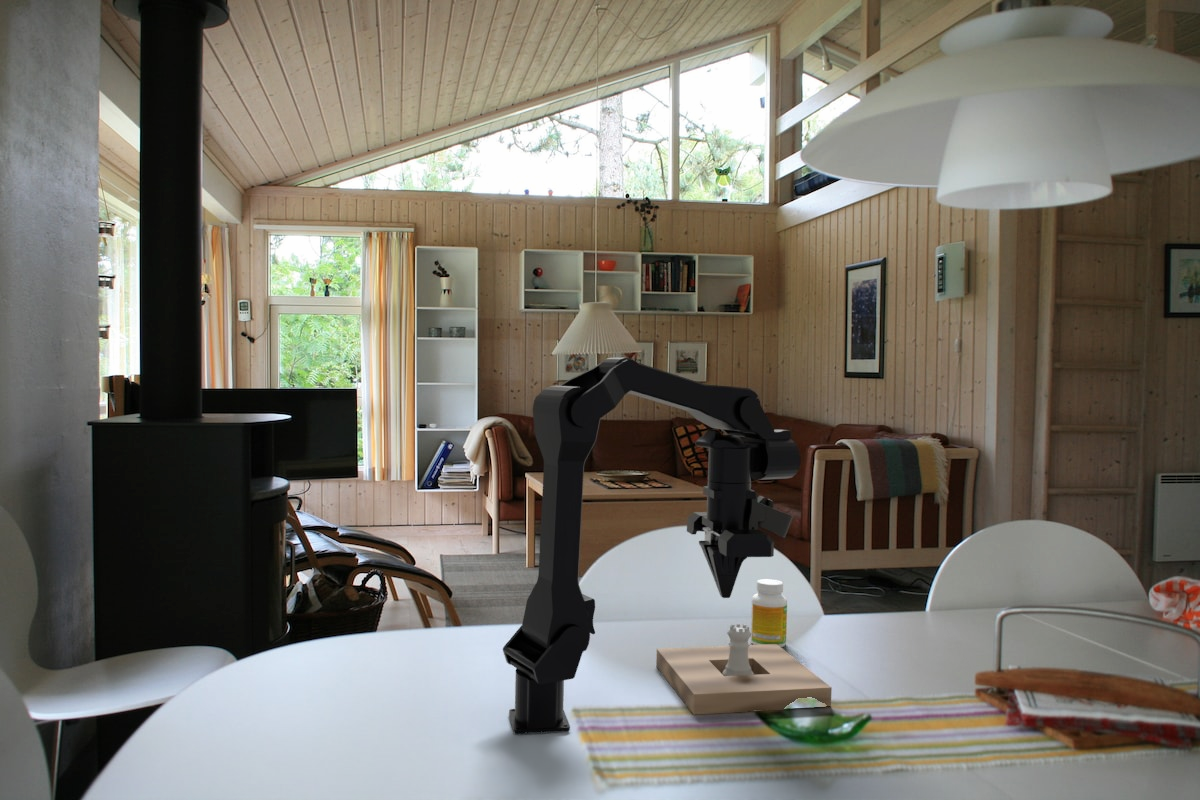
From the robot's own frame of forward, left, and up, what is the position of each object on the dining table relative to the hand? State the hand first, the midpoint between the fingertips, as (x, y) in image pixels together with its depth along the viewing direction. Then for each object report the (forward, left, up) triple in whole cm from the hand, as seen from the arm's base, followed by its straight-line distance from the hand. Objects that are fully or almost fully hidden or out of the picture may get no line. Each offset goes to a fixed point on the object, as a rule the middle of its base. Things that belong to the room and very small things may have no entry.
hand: (725, 597), depth 120 cm
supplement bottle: (+16, -13, -12) cm, 24 cm away
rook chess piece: (-1, -2, -12) cm, 12 cm away
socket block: (-1, -2, -12) cm, 12 cm away
